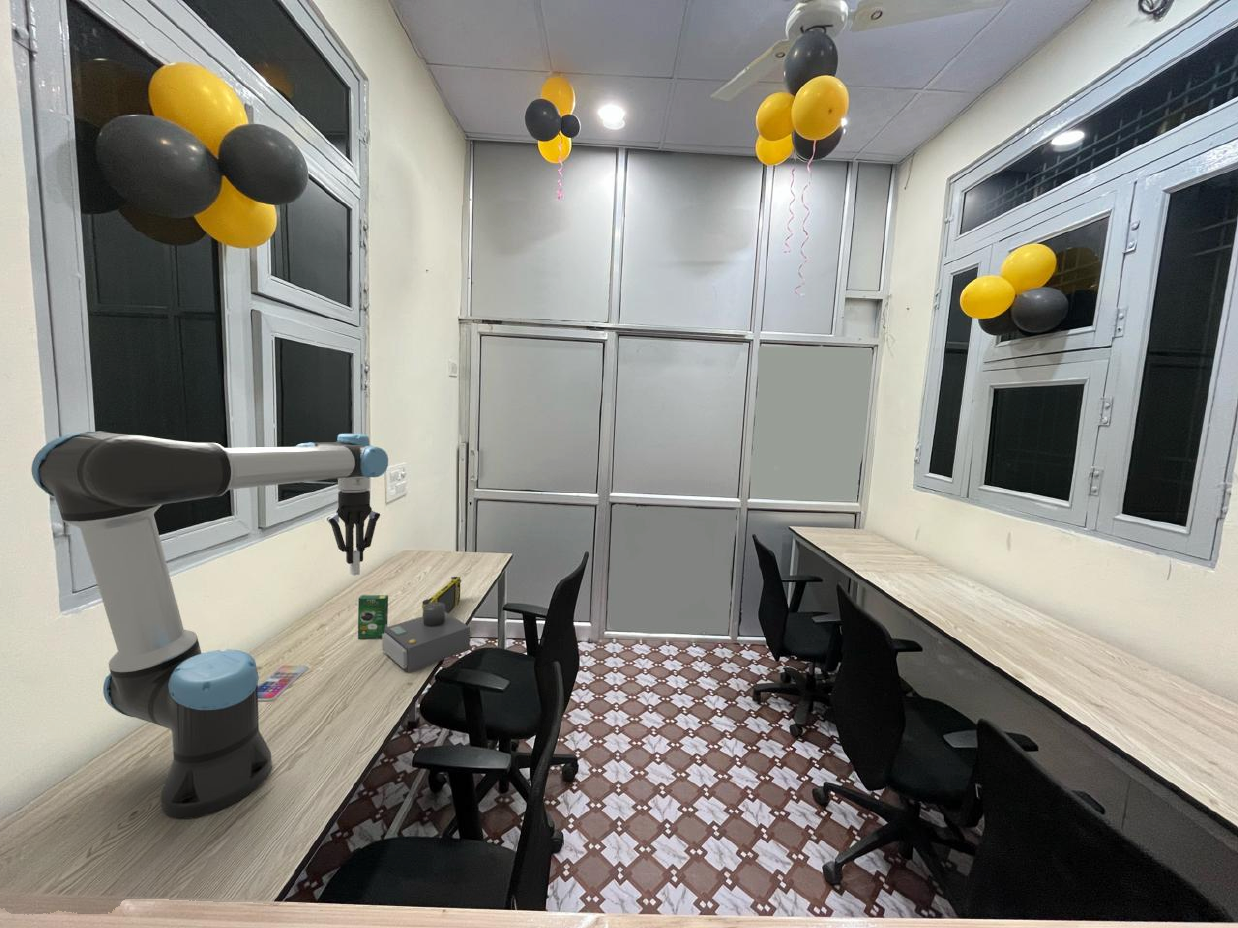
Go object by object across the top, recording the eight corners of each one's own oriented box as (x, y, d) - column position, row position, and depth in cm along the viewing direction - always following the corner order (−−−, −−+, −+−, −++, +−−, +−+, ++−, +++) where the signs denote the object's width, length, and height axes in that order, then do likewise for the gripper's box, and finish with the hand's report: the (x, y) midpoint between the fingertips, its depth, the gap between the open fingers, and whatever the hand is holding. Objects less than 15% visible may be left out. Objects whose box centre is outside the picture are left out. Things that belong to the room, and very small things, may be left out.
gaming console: (432, 632, 144) (433, 602, 143) (420, 632, 144) (420, 602, 143) (463, 601, 169) (463, 575, 168) (452, 600, 169) (452, 575, 168)
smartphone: (310, 665, 121) (272, 699, 106) (310, 668, 121) (272, 703, 106) (281, 664, 121) (239, 699, 106) (281, 668, 121) (239, 702, 106)
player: (409, 672, 121) (409, 630, 120) (384, 650, 131) (384, 611, 130) (469, 649, 134) (470, 610, 133) (442, 631, 145) (443, 595, 144)
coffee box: (388, 634, 141) (388, 594, 140) (385, 638, 138) (385, 597, 137) (361, 635, 140) (361, 594, 139) (357, 639, 137) (357, 598, 136)
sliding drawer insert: (403, 668, 120) (403, 651, 120) (382, 649, 130) (382, 633, 129) (462, 646, 134) (463, 630, 133) (439, 630, 143) (439, 616, 142)
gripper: (331, 494, 115) (332, 583, 117) (384, 490, 125) (385, 572, 127) (322, 490, 120) (323, 575, 122) (374, 486, 130) (374, 565, 132)
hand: (354, 573), depth 125 cm, fingers closed
